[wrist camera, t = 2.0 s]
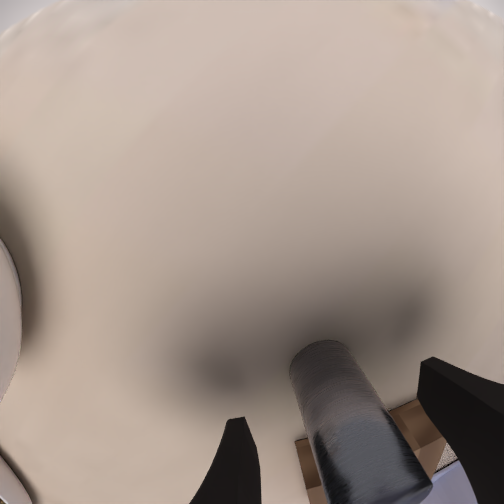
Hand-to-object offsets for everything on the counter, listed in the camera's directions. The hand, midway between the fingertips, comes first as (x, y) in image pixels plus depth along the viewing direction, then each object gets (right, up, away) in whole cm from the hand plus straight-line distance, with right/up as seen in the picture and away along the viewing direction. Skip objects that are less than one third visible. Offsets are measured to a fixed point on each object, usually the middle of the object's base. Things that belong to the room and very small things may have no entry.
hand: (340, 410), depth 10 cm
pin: (0, +1, +3) cm, 3 cm away
